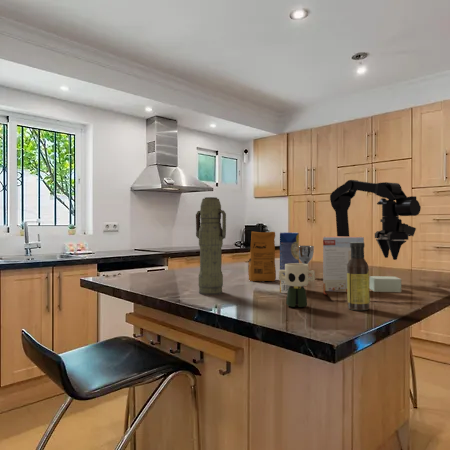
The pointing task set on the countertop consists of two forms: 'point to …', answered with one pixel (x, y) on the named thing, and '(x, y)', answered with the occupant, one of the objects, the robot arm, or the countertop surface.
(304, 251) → the wine glass
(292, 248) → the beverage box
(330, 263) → the cracker box
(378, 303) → the countertop surface
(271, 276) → the coffee package
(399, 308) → the countertop surface
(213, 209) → the thermos
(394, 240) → the robot arm
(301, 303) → the toy figurine
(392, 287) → the sage cover
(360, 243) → the sauce bottle
